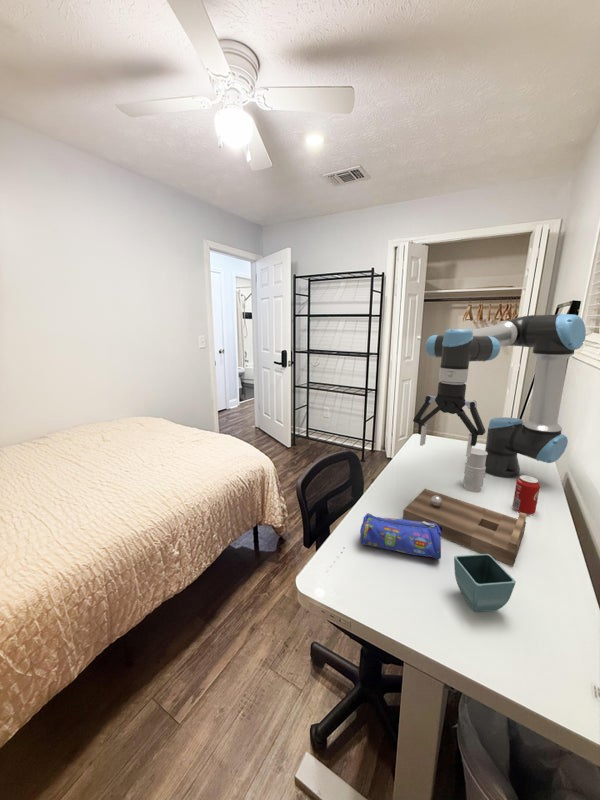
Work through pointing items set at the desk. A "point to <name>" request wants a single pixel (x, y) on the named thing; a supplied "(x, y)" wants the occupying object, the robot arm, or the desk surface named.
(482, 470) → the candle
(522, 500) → the beverage can
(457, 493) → the desk surface
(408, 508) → the board
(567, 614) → the desk surface
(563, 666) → the desk surface
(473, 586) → the flower pot
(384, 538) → the pencil case
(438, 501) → the ball
